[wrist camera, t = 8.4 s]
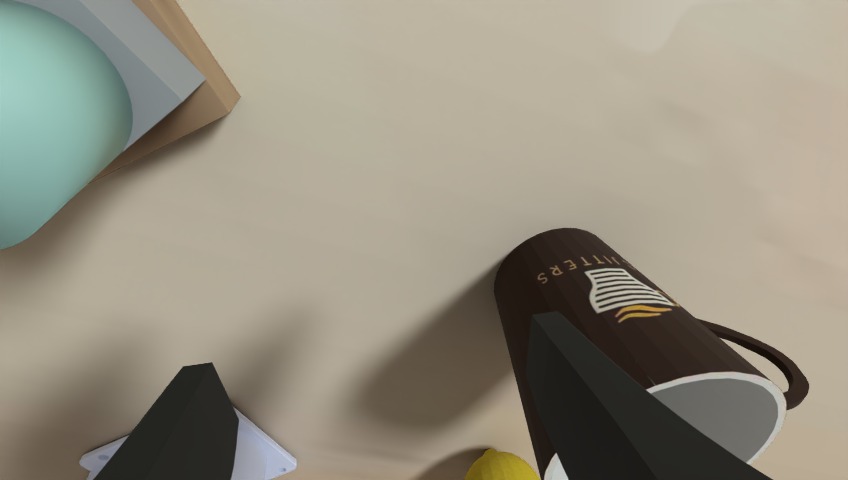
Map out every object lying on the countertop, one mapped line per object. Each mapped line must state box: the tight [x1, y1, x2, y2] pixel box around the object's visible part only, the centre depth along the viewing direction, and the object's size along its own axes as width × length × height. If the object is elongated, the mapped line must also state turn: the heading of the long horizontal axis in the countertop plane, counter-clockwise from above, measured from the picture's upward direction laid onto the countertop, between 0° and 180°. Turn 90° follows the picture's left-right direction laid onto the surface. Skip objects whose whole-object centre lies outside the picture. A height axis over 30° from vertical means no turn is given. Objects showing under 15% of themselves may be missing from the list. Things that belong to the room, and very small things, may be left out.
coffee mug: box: [494, 228, 809, 480], centre depth 20 cm, size 12×9×10 cm
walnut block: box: [88, 0, 241, 184], centre depth 15 cm, size 6×6×2 cm
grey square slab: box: [11, 0, 206, 155], centre depth 12 cm, size 5×5×2 cm
